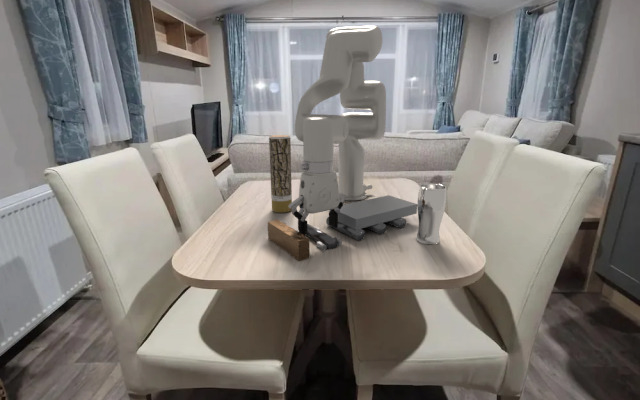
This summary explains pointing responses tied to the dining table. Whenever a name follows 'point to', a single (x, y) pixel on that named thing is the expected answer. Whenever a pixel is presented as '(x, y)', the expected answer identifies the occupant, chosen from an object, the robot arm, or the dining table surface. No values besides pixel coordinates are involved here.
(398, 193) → the dining table surface
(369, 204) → the slab
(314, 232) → the roller
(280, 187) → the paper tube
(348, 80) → the robot arm
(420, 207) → the beer glass
